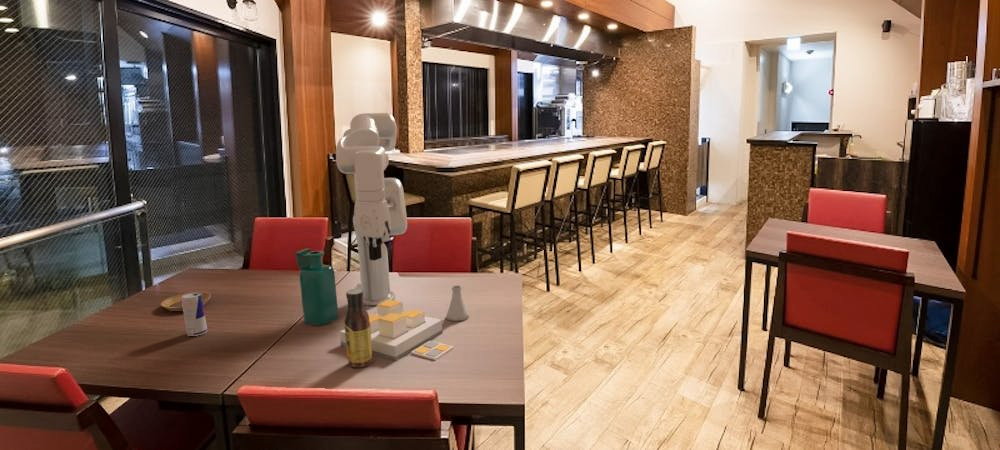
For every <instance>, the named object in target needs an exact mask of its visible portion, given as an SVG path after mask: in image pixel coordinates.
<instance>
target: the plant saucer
mask: <svg viewBox="0 0 1000 450" xmlns="http://www.w3.org/2000/svg"><path fill="white" fill-rule="evenodd" d="M197 292H198V293H201V295H202V298H203V300H204V301H203V305H204V306H206V304H207V303H208V302H209V300H210V298H211V297H212V295H211V293H210V292H203V291H197ZM188 293H189V292H186V293H181V294H177V295H174V296H170V297H167V298H166V299H164V300H163V301H162V302H161V303H160V306H161V307H163V308H164V309H165V310H167V311H169V312H172V311H183V307H169V306H170V305H172V304H174V303H177V302H180V301H182V300H181V299H182V296H183V295H185V294H188ZM192 293H194V292H193V291H192Z"/></svg>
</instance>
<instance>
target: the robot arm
mask: <svg viewBox="0 0 1000 450" xmlns="http://www.w3.org/2000/svg"><path fill="white" fill-rule="evenodd" d="M349 125H350V126H349V127H350V128H349V129H346V130H345V131H344V133H343V136H342V137H341V138H340V139H339V140H338V141H337V143H336V148H335V160H336V161H335V162H336V166H337V168H338V170H339V172H340V173H342V174H345V175H347V174H348V175H350V174H352V175H353V179H354V191H355V198H356V199H355V202H354V211H353V217H352V223H353V228H354V233H355V236H356V243H357V250H358V251H357V252H358V263H359V265H358V266H359V276H360V283H357V286H355V287H354V289H362V290H363V304H364V306H365V305H366V306H377V305H378V304H380V303H382V302H384V301H386V300H388V299H391V300H395V298H396V293H395V292H393V291H391V287H390V286H391V285H390V269H389V257H388V256H389V253H388V248H387V245H386V244H385V242H389V241H390V240H391V238H390V236H399V235H403V234H405V233H406V231H407V229H408V217H407V216H408V215H407V209H406V208H407V207H406V200H405V199H406V198H405V192H404V187H403V184H402V182H401V180H400V179H398V178H396V177H385V173H384V171H385V170H386V169H387V167H388V166H389V160H390V159H389V153H388V152H391V151H394V149H395V147H396V144H397V136H398V135H397V134H398V127H397V122H396V119H395V118H394V116H393V115H392V114H391V113H388V112H376V113H375V112H373V113H372V112H370V113H368V112H367V113H366V112H365V113H359V114H356V115H354V116H353V117H352V119H351V121H350V124H349Z"/></svg>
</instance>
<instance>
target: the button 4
mask: <svg viewBox="0 0 1000 450" xmlns="http://www.w3.org/2000/svg"><path fill="white" fill-rule="evenodd" d="M400 315H403V316H405V317H406V327H407V328H411V329H414V328H416V327H418V326H420V325H422V324H423V323H425V316H426V315H425V312H423V311H421V310H416V309H412V308H410V309H408V310H406V311H404V313H402V314H400Z"/></svg>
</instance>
